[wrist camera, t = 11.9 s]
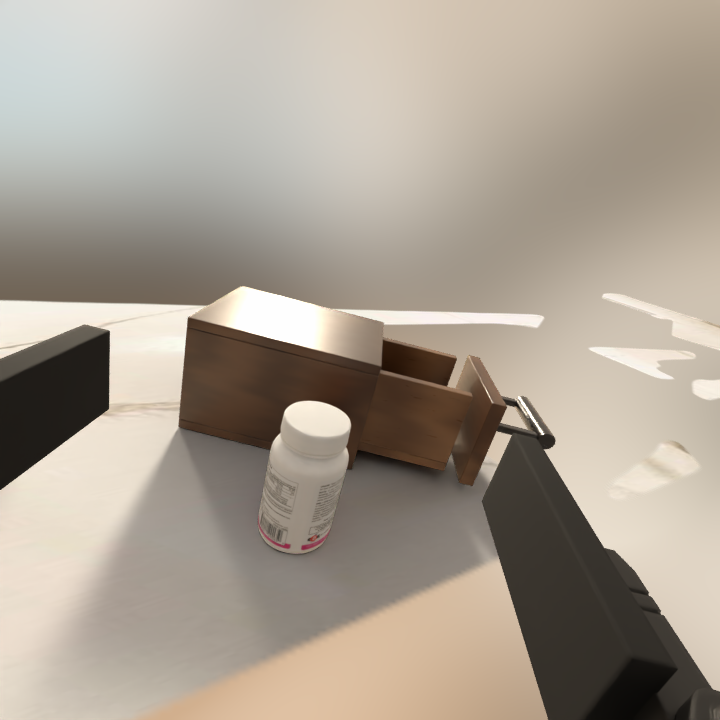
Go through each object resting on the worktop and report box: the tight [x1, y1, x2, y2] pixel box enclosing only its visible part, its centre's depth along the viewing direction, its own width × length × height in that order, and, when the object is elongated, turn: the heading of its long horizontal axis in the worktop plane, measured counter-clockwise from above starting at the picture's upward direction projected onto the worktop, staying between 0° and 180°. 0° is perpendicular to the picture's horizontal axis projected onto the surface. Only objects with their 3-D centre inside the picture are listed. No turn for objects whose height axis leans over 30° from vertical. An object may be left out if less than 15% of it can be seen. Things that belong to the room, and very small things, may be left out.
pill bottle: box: [258, 401, 351, 554], centre depth 25 cm, size 5×5×8 cm
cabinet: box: [179, 286, 384, 470], centre depth 37 cm, size 15×12×10 cm
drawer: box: [358, 337, 555, 486], centre depth 37 cm, size 19×10×8 cm, turn 87°
